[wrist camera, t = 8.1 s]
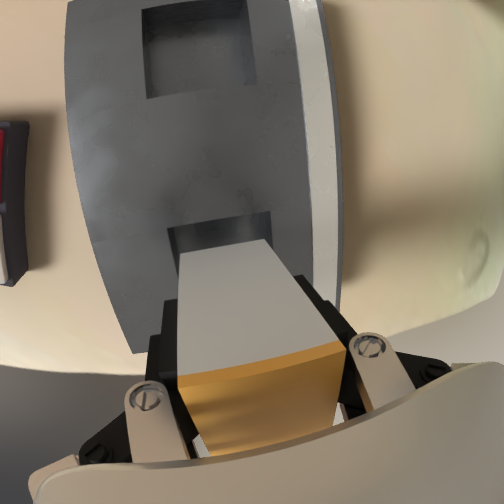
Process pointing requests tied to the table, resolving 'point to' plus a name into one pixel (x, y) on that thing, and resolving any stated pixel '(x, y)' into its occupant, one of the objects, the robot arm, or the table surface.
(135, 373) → the table surface
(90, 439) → the robot arm
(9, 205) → the calculator
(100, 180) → the port panel
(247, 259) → the plug
